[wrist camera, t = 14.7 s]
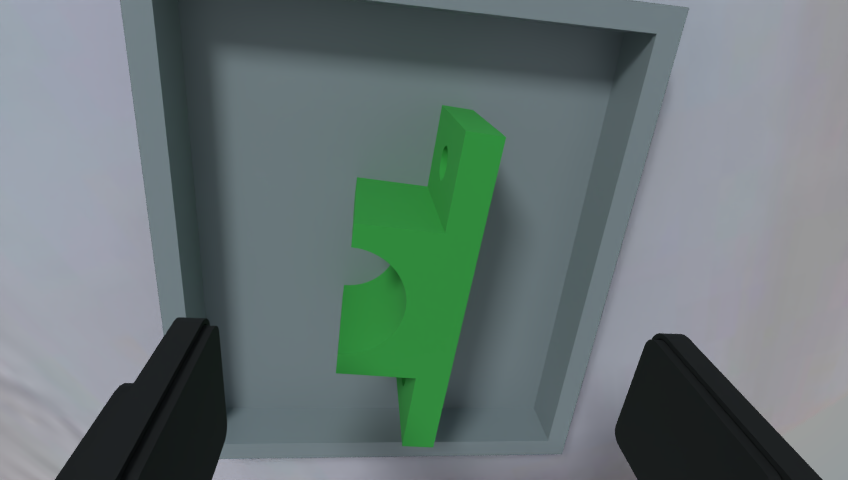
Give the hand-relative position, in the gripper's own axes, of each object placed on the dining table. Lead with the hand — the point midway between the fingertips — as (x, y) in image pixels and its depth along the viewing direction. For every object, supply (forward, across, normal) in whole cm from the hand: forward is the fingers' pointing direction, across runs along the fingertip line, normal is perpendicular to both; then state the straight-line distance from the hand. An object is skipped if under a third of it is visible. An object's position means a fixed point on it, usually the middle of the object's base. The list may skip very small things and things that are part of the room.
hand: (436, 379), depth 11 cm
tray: (+9, 0, +1) cm, 9 cm away
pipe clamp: (+9, 0, +1) cm, 9 cm away
